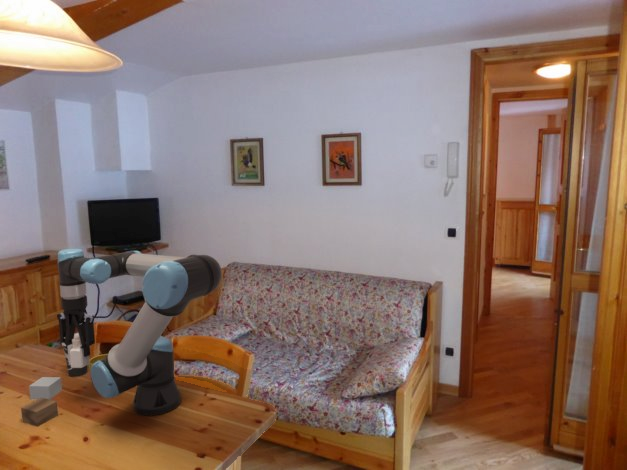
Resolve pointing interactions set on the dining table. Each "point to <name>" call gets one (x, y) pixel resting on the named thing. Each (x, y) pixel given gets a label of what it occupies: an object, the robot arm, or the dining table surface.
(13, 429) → the dining table surface
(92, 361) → the plant pot
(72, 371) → the coffee cup
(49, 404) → the walnut block
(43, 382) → the grey-blue block
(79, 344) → the pepper shaker
